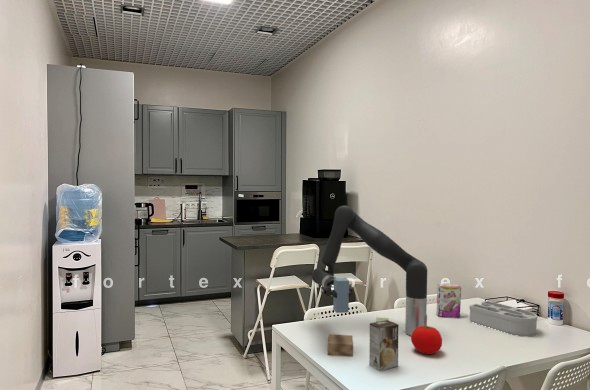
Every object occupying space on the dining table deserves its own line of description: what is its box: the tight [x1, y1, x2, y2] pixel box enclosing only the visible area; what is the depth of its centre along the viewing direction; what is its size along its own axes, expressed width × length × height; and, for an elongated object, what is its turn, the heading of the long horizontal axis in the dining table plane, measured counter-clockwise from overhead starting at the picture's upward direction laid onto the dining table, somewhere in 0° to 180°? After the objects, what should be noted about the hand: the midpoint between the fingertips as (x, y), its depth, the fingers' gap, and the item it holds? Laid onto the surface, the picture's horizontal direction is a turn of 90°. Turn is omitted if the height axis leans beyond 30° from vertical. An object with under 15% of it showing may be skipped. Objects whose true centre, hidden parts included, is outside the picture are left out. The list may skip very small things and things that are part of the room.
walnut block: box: [327, 334, 354, 357], centre depth 173 cm, size 10×10×5 cm
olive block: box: [375, 317, 390, 322], centre depth 173 cm, size 5×5×13 cm
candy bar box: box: [436, 283, 462, 318], centre depth 220 cm, size 11×5×16 cm, turn 84°
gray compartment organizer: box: [469, 300, 538, 337], centre depth 205 cm, size 17×28×9 cm, turn 35°
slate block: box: [332, 277, 350, 314], centre depth 172 cm, size 5×5×13 cm
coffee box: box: [368, 319, 399, 372], centre depth 159 cm, size 9×6×16 cm
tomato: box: [410, 325, 443, 355], centre depth 173 cm, size 11×12×10 cm
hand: (343, 295), depth 170 cm, fingers closed on slate block, 5 cm apart
